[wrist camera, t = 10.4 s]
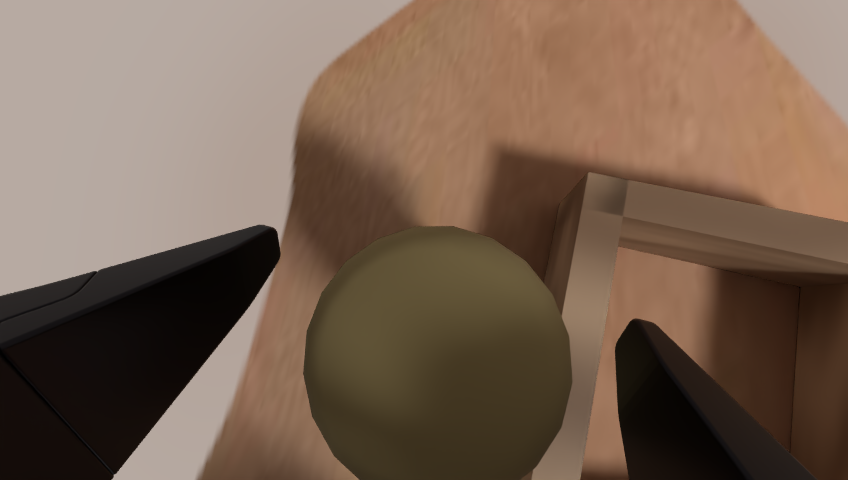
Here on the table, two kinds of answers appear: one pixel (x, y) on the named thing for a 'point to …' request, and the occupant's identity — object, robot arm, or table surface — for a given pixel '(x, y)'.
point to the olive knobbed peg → (437, 360)
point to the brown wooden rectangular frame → (715, 247)
